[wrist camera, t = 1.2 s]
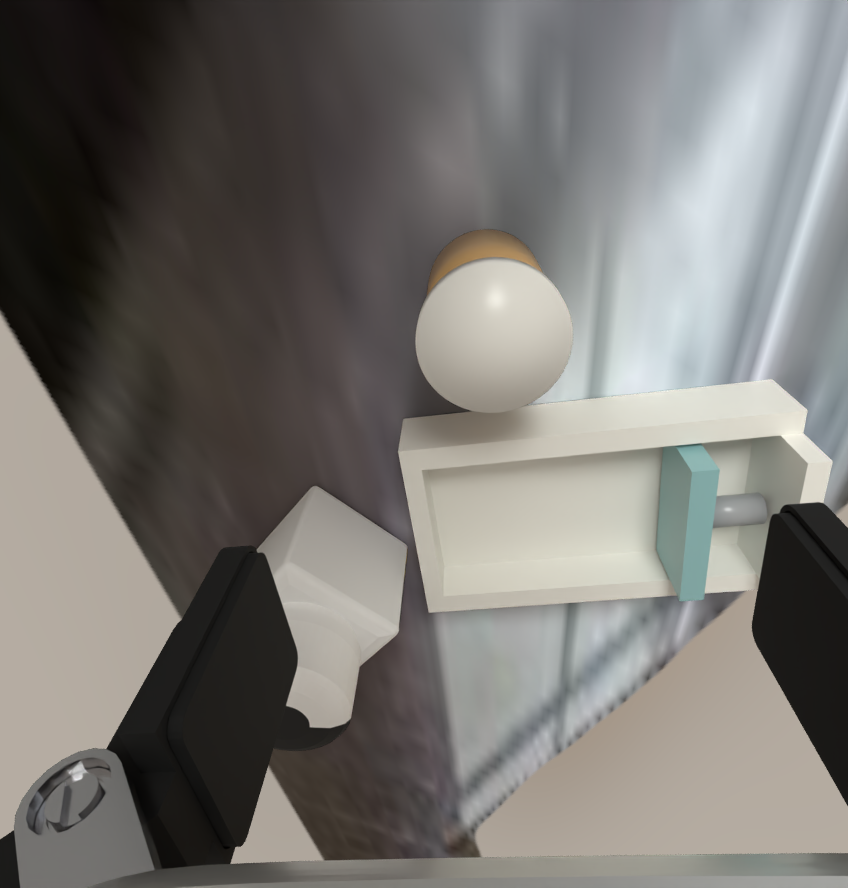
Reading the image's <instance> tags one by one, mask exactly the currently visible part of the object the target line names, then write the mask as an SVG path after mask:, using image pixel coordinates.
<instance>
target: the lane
mask: <svg viewBox="0 0 848 888" xmlns="http://www.w3.org/2000/svg"><path fill="white" fill-rule="evenodd" d="M807 411H808V410H807V409H805V408H804V407H803V406H802V405H801V404H800V403H799V402H797V401H796V400H795V399H794V398H793V397H792V396H791V395H789V394H788V393H787V392H786V391H785V390H784V389H783V388H781V387H780V386H779V385H778V384H777V383H776V382H775V381H773V380H772V379H770V380H761V381H752V382H742V383H733V384H723V385H714V386H705V387H695V388H686V389H677V390H667V391H658V392H649V393H639V394H630V395H621V396H611V397H602V398H593V399H583V400H574V401H565V402H555V403H546V404H537V405H527V406H523V407H521V408H518V409H514V410H511V411H506V412H500V413H483V412H476V411H471V412H462V413H453V414H443V415H434V416H425V417H415V418H406V419H403V424H402V431H401V437H400V443H399V449H398V454H399V459H400V464H401V470H402V475H403V480H404V485H405V490H406V496H407V501H408V506H409V511H410V517H411V522H412V527H413V532H414V537H415V543H416V548H417V553H418V558H419V564H420V569H421V574H422V579H423V585H424V590H425V595H426V600H427V605H428V611H429V613H434V612H448V611H462V610H476V609H491V608H505V607H519V606H533V605H548V604H562V603H576V602H590V601H604V600H619V599H633V598H647V597H661V596H676V595H677V594H676V592H675V590H674V588H673V586H672V583H671V581H670V579H669V577H668V574H667V572H666V570H665V568H664V566H663V563H662V561H661V559H660V557H659V554H658V552H657V550H656V546H657V531H658V516H659V501H660V485H661V470H662V455H663V447H666V446H677V445H687V444H697V443H701V444H702V446H703V447H704V448H705V450H706V451H707V452H708V454H709V455H710V457H711V458H712V459H713V461H714V462H715V464H716V465H717V466H718V468H719V469H720V472H719V480H718V488H717V496H722V495H733V494H745V493H756V492H758V493H760V494H761V495H762V496H763V498H764V500H765V502H766V506H767V520H766V522H765V523H764V524H757V525H745V526H732V527H720V528H713V529H712V537H711V545H710V553H709V561H708V570H707V578H706V586H705V593H718V592H733V591H747V590H758V586H759V580H760V575H761V569H762V563H763V557H764V552H765V546H766V540H767V534H768V529H769V523H770V519H771V516H772V515H773V514H777V513H780V510H781V508H782V507H783V506H784V505H787V504H800V503H813V502H820V503H823V501H824V497H825V493H826V488H827V484H828V480H829V475H830V471H831V467H832V463H833V461H832V460H831V459H830V458H829V457H828V456H827V455H826V454H824V453H823V452H822V451H821V450H820V449H819V448H818V447H817V446H816V445H815V444H814V443H813V442H812V441H811V440H810V439H809V438H808V437H807V436H806V435H804V434H803V431H804V426H805V421H806V416H807Z"/></svg>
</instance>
